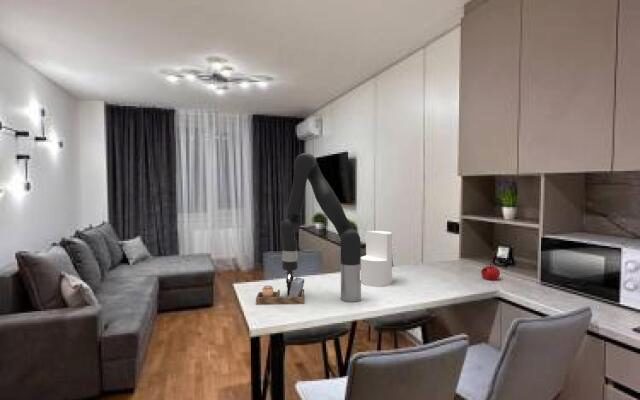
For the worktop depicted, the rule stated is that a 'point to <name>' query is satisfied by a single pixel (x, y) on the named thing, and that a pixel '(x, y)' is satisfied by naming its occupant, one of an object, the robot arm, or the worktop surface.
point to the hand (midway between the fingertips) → (289, 294)
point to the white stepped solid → (377, 259)
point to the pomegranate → (490, 272)
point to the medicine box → (296, 287)
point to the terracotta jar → (267, 291)
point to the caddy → (278, 299)
